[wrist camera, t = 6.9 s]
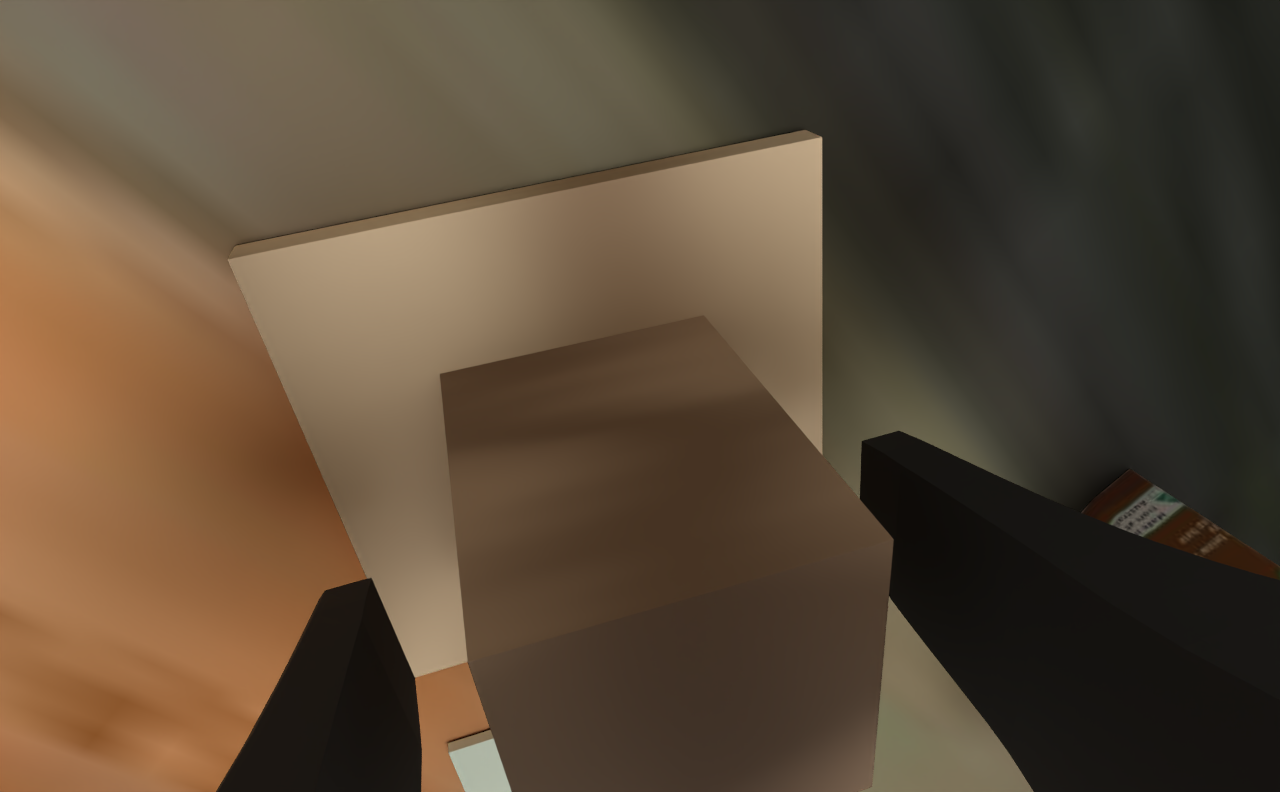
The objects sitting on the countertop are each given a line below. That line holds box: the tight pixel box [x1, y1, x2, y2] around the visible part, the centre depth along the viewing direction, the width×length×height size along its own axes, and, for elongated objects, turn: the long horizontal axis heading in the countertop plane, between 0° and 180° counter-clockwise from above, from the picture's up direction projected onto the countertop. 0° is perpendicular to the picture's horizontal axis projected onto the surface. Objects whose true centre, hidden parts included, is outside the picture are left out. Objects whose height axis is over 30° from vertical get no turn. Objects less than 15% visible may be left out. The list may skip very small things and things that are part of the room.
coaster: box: [227, 130, 822, 678], centre depth 14 cm, size 9×9×1 cm
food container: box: [1081, 469, 1280, 580], centre depth 18 cm, size 12×6×10 cm, turn 38°
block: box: [440, 315, 894, 792], centre depth 11 cm, size 4×4×6 cm
